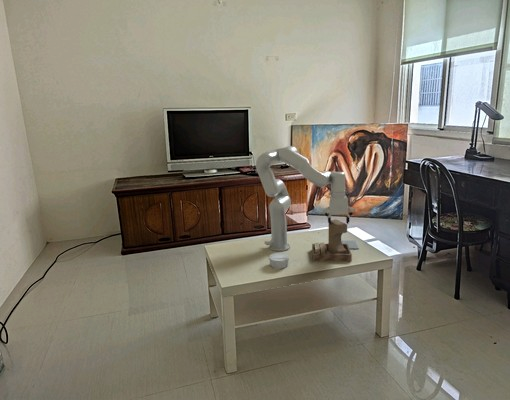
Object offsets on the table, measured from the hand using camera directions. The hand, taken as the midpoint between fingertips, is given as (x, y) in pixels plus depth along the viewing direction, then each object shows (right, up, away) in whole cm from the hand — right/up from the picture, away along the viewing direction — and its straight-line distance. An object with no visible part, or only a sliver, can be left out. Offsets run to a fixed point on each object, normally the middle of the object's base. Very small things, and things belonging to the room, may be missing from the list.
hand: (338, 223), depth 202 cm
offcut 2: (-8, -19, +6) cm, 21 cm away
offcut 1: (-11, -19, +6) cm, 23 cm away
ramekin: (-34, -23, -5) cm, 41 cm away
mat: (+11, -15, +19) cm, 27 cm away
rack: (-3, -19, +5) cm, 20 cm away
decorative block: (0, -19, +5) cm, 19 cm away
